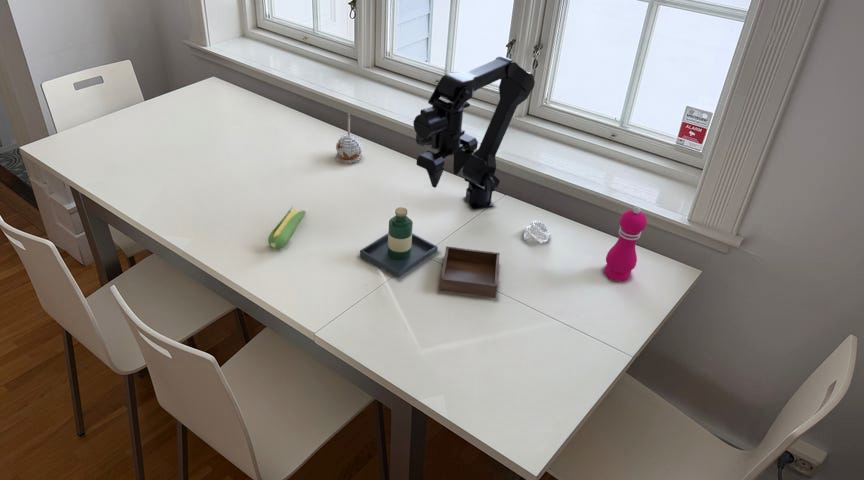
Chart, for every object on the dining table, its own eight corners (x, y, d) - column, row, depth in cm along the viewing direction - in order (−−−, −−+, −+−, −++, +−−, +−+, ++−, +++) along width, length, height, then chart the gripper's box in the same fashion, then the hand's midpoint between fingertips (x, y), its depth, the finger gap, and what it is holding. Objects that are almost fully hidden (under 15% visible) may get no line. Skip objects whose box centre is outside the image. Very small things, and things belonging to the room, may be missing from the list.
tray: (398, 232, 178) (399, 226, 177) (437, 253, 172) (437, 246, 170) (359, 257, 169) (359, 250, 168) (398, 279, 163) (399, 272, 161)
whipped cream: (523, 230, 183) (525, 214, 180) (549, 231, 181) (550, 215, 179) (523, 245, 176) (524, 229, 173) (549, 246, 175) (550, 230, 172)
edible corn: (264, 251, 170) (262, 237, 167) (293, 210, 185) (292, 196, 183) (283, 255, 169) (281, 240, 166) (310, 214, 184) (310, 200, 182)
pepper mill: (598, 265, 169) (617, 198, 157) (625, 264, 170) (646, 198, 158) (607, 283, 164) (628, 215, 151) (636, 282, 164) (659, 215, 152)
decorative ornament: (339, 151, 213) (338, 108, 204) (363, 153, 213) (363, 110, 203) (334, 163, 207) (333, 118, 198) (359, 165, 206) (359, 121, 197)
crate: (444, 259, 170) (446, 246, 167) (497, 265, 168) (499, 252, 166) (439, 292, 159) (440, 278, 157) (495, 299, 158) (497, 286, 155)
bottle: (413, 248, 172) (415, 206, 164) (408, 261, 167) (410, 219, 159) (390, 244, 173) (392, 202, 165) (385, 257, 168) (386, 215, 160)
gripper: (447, 105, 175) (442, 158, 185) (401, 127, 164) (398, 182, 174) (482, 118, 170) (475, 172, 179) (436, 142, 158) (431, 198, 168)
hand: (445, 180), depth 175 cm, fingers open, 9 cm apart
